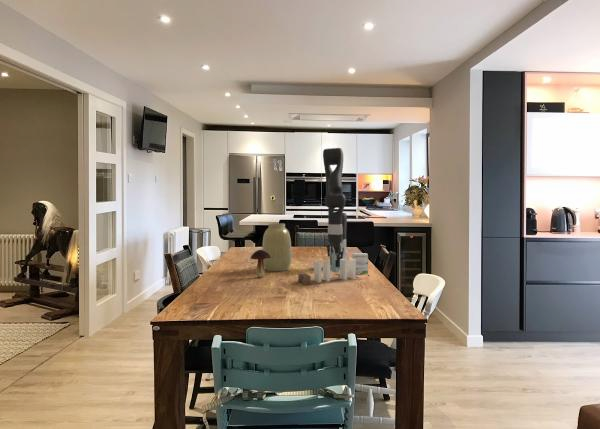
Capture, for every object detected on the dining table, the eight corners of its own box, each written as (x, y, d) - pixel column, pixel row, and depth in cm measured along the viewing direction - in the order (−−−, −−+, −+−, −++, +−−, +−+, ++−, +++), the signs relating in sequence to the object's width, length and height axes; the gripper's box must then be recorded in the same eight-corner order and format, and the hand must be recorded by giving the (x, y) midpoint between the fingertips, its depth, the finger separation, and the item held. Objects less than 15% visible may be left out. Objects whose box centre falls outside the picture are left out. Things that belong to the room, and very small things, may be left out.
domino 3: (331, 271, 230) (331, 251, 229) (333, 270, 230) (334, 251, 230) (335, 272, 225) (336, 253, 225) (338, 272, 226) (338, 252, 225)
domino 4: (339, 278, 232) (339, 259, 232) (342, 277, 233) (342, 258, 232) (344, 279, 228) (344, 260, 227) (347, 279, 228) (347, 260, 228)
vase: (297, 268, 266) (297, 223, 264) (280, 273, 251) (280, 225, 250) (273, 266, 275) (273, 222, 273) (256, 270, 260) (256, 224, 259)
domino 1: (314, 280, 226) (314, 261, 225) (316, 280, 227) (316, 260, 226) (318, 282, 221) (318, 262, 221) (321, 282, 222) (321, 262, 221)
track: (293, 283, 224) (293, 273, 224) (353, 277, 239) (353, 268, 238) (302, 287, 215) (302, 277, 215) (363, 281, 230) (363, 271, 229)
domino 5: (348, 277, 234) (348, 258, 234) (350, 277, 235) (350, 258, 234) (353, 279, 230) (353, 259, 229) (355, 278, 230) (355, 259, 230)
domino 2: (322, 279, 228) (322, 260, 227) (325, 279, 229) (325, 260, 228) (327, 281, 223) (327, 261, 223) (330, 281, 224) (330, 261, 224)
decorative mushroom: (254, 280, 232) (254, 251, 231) (247, 276, 242) (247, 249, 241) (273, 278, 236) (273, 250, 235) (266, 274, 246) (266, 247, 245)
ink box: (367, 273, 249) (367, 252, 249) (368, 275, 244) (368, 254, 244) (352, 273, 250) (352, 252, 250) (352, 275, 245) (352, 253, 245)
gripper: (322, 232, 232) (322, 264, 233) (335, 234, 219) (335, 269, 220) (334, 231, 235) (334, 263, 236) (348, 234, 222) (348, 267, 223)
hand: (335, 266), depth 228 cm, fingers closed on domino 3, 5 cm apart
